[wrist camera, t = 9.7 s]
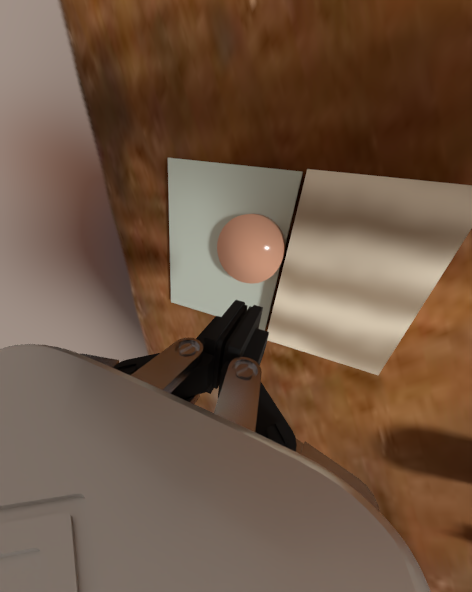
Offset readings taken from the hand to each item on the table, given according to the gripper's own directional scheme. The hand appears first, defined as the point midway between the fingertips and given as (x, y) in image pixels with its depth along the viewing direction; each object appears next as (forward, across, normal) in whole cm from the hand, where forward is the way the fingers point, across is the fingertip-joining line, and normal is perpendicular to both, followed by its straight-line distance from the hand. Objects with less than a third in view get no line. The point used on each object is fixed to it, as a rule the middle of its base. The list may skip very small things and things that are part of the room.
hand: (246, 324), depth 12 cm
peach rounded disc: (+15, +4, -1) cm, 15 cm away
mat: (+15, +8, 0) cm, 17 cm away
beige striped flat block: (+16, -7, 0) cm, 17 cm away
